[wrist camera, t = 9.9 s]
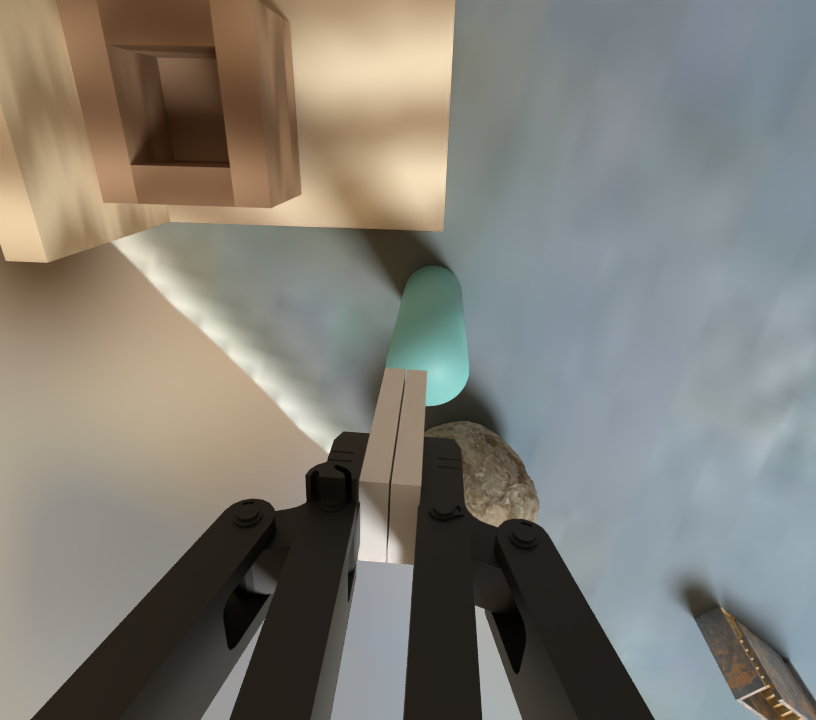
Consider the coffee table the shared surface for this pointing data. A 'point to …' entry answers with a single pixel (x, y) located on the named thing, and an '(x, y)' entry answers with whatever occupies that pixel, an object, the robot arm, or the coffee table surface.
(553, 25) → the coffee table surface
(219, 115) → the block
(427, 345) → the dowel
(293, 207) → the jig
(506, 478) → the decorative stone
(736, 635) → the ruin model on sheet
